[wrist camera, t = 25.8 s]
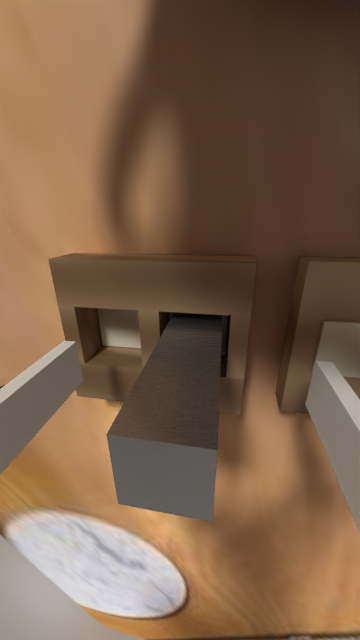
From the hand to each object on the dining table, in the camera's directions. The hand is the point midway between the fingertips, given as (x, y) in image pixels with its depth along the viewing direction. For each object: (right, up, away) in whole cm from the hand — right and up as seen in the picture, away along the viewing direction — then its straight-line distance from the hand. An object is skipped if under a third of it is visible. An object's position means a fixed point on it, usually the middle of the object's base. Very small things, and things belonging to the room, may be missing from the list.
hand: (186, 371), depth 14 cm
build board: (-2, +2, +6) cm, 7 cm away
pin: (+1, +2, +5) cm, 6 cm away
